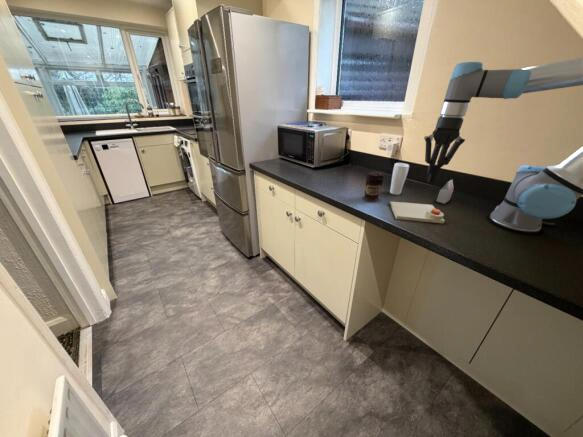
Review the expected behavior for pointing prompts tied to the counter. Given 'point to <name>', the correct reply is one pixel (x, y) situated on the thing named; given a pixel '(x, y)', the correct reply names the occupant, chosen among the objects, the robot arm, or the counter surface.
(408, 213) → the scale
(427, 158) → the robot arm
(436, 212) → the button
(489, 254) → the counter surface
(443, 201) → the grey tapered block
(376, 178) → the coffee cup
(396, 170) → the drinking glass
